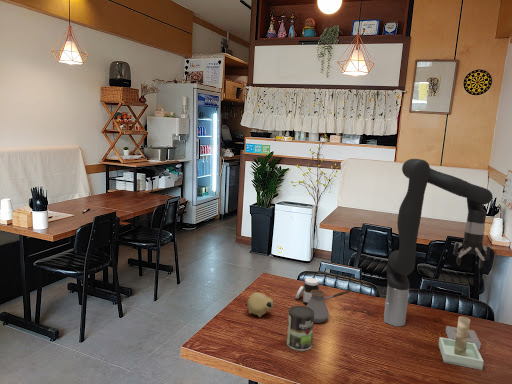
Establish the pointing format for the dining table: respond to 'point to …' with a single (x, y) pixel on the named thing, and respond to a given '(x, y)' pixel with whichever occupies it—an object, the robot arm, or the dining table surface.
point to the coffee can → (300, 328)
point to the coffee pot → (320, 305)
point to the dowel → (462, 336)
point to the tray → (469, 360)
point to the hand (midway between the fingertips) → (469, 266)
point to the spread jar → (308, 289)
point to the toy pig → (259, 304)
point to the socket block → (471, 336)
